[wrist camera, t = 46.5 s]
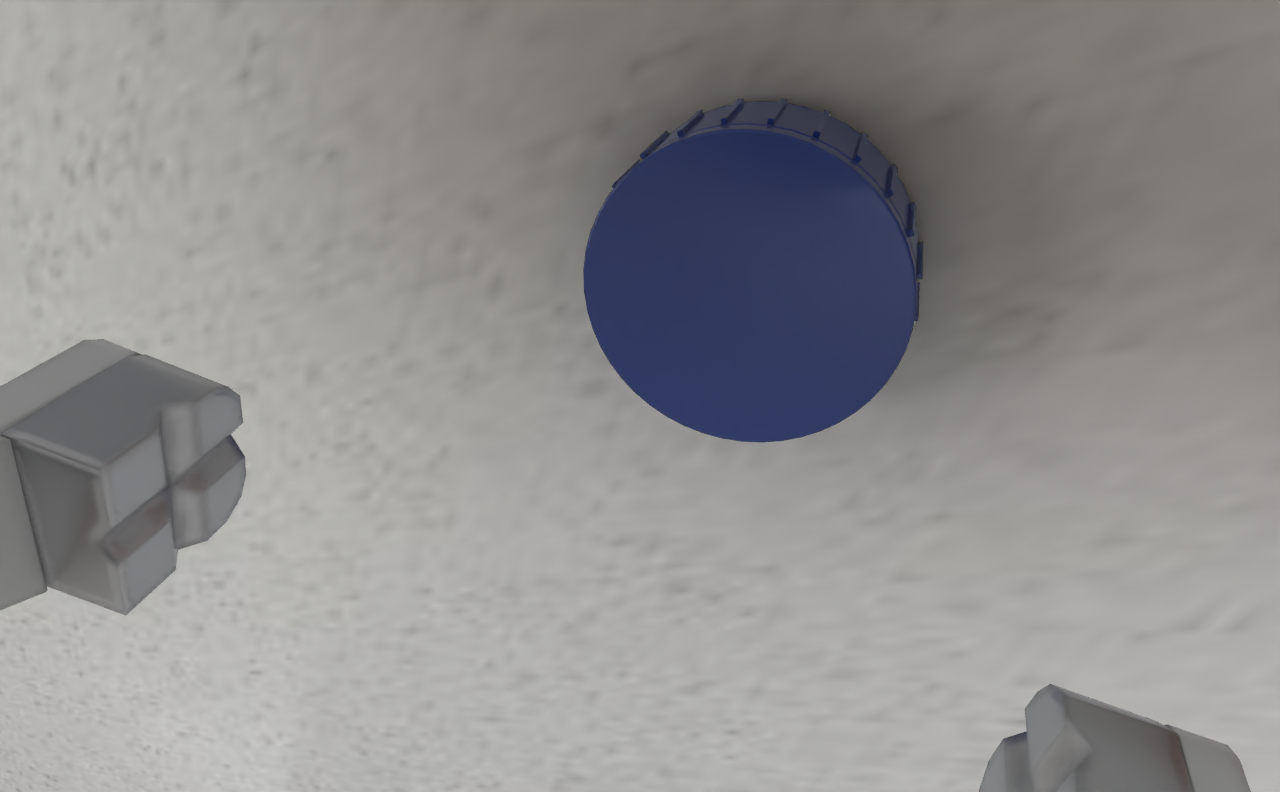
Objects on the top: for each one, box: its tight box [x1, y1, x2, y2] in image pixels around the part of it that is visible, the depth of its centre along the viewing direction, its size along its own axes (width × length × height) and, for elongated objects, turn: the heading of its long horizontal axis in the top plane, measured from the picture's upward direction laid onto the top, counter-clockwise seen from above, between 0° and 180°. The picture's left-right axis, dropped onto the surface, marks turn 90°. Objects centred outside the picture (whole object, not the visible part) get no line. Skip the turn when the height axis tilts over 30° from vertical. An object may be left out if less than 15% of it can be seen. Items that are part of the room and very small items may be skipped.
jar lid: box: [583, 99, 923, 442], centre depth 17 cm, size 6×6×2 cm
